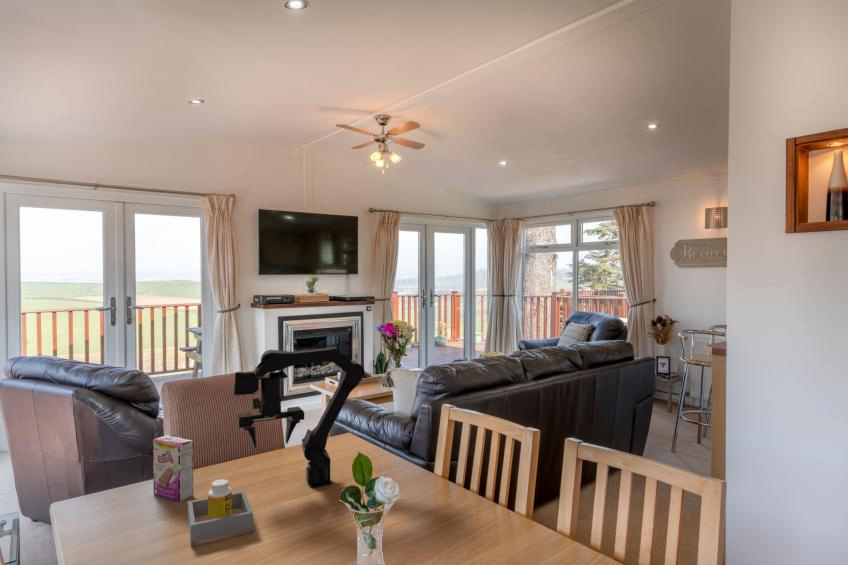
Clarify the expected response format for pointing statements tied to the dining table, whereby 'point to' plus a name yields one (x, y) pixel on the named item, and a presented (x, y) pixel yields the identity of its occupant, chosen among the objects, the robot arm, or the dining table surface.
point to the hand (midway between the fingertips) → (270, 445)
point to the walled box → (219, 520)
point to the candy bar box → (173, 467)
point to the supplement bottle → (219, 500)
